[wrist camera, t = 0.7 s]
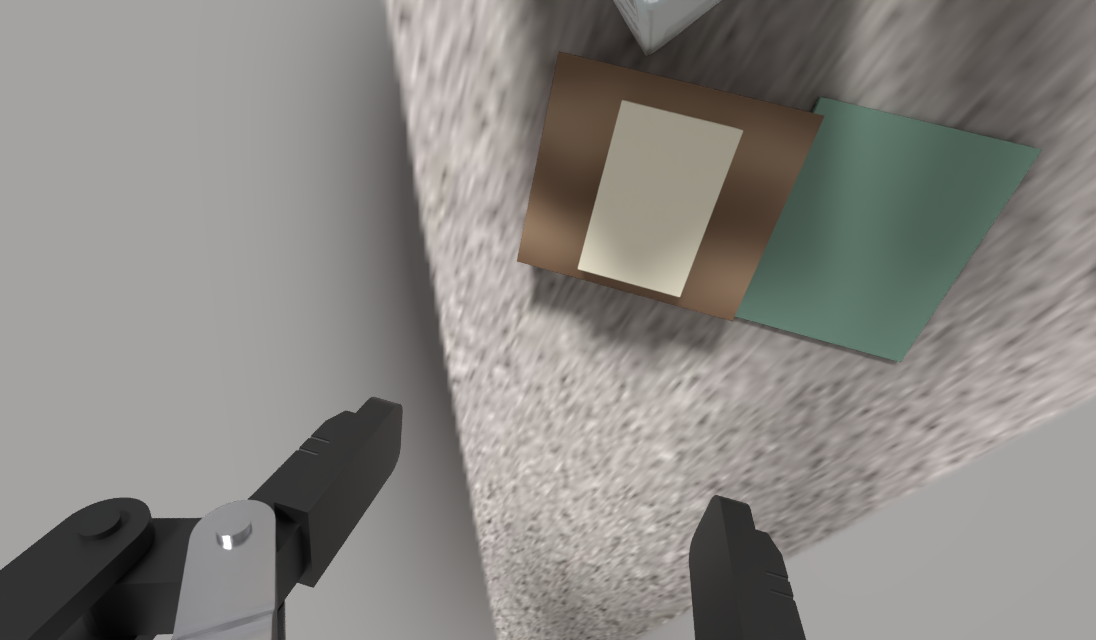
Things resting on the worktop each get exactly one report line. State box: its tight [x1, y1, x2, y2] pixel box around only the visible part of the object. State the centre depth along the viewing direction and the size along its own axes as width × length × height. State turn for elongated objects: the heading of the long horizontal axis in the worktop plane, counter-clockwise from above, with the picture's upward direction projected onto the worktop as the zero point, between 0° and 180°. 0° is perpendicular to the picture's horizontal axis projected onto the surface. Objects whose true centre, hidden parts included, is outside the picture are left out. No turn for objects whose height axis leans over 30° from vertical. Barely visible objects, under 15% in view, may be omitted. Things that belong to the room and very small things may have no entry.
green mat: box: [735, 97, 1042, 362], centre depth 30 cm, size 14×12×1 cm
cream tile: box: [578, 100, 743, 297], centre depth 26 cm, size 9×6×2 cm, turn 167°
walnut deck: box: [517, 52, 824, 321], centre depth 29 cm, size 12×14×4 cm
